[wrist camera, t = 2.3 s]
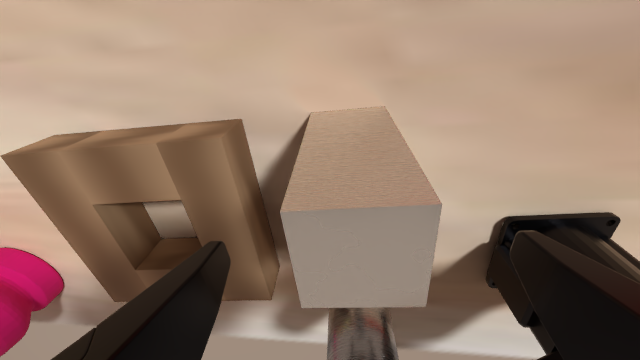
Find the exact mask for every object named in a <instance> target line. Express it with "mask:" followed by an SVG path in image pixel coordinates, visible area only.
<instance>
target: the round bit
mask: <svg viewBox="0 0 640 360" xmlns="http://www.w3.org/2000/svg"><path fill="white" fill-rule="evenodd" d="M327 348H328V349H327V360H399V359H398V354H397V348H396V342H395V337H394V331H393V326H392V320H391V315H390V309H389V307H371V308H329V318H328V347H327Z"/></svg>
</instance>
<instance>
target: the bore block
mask: <svg viewBox="0 0 640 360" xmlns="http://www.w3.org/2000/svg"><path fill="white" fill-rule="evenodd" d="M1 157H2V159H3V160H4V161H5V163H6V164H7V165H8V166H9V168H10V169H11V170H12V171H13V173H14V174H15V175H16V177H17V178H18V179H19V180H20V182H21V183H22V184H23V185H24V187H25V188H26V189H27V191H28V192H29V193H30V194H31V196H32V197H33V198H34V199H35V201H36V202H37V203H38V205H39V206H40V207H41V208H42V210H43V211H44V212H45V213H46V215H47V216H48V217H49V219H50V220H51V221H52V222H53V224H54V225H55V226H56V227H57V229H58V230H59V231H60V233H61V234H62V235H63V236H64V238H65V239H66V240H67V241H68V243H69V244H70V245H71V247H72V248H73V249H74V250H75V252H76V253H77V254H78V256H79V257H80V258H81V259H82V261H83V262H84V263H85V264H86V266H87V267H88V268H89V270H90V271H91V272H92V273H93V275H94V276H95V277H96V278H97V280H98V281H99V282H100V284H101V285H102V286H103V287H104V289H105V290H106V291H107V292H108V294H109V295H110V296H111V298H112V299H113V300H114V301H115V302H129V301H131V300H132V299H133V298H135V297H136V296H137V295H139V294H140V293H141V292H143V291H144V290H145V289H147V288H148V287H149V286H151V285H152V284H153V283H155V282H156V281H157V280H159V279H160V278H161V277H163V276H164V275H165V274H167V273H168V272H169V271H171V270H172V269H173V268H175V267H176V266H178V265H179V264H180V263H182V262H183V261H184V260H186V259H187V258H188V257H190V256H191V255H192V254H194V253H195V252H196V251H198V250H199V249H200V248H202V247H203V246H204V245H206V244H207V243H208V242H210V241H223V242H224V243H225V246H226V248H227V251H228V253H229V256H230V260H231V265H230V269H229V273H228V277H227V281H226V285H225V289H224V293H223V297H222V300H221V301H235V300H272V295H273V291H274V287H275V283H276V279H277V275H278V271H279V267H280V265H279V262H278V258H277V254H276V250H275V246H274V242H273V238H272V235H271V231H270V227H269V223H268V219H267V215H266V211H265V208H264V204H263V200H262V196H261V192H260V188H259V184H258V181H257V177H256V173H255V169H254V165H253V161H252V157H251V154H250V150H249V146H248V142H247V138H246V134H245V130H244V127H243V123H242V119H235V120H223V121H212V122H200V123H189V124H177V125H166V126H154V127H143V128H132V129H120V130H109V131H97V132H86V133H74V134H63V135H54V136H51V137H49V138H46V139H43V140H41V141H38V142H35V143H33V144H30V145H28V146H25V147H22V148H20V149H17V150H14V151H12V152H9V153H7V154H4V155H1ZM168 200H181V201H182V203H183V205H184V207H185V210H186V212H187V214H188V216H189V219H190V221H191V223H192V225H193V228H194V230H195V232H196V234H197V236H198V238H175V239H161V237H160V235H159V234H158V232H157V230H156V228H155V226H154V224H153V222H152V221H151V219H150V217H149V215H148V213H147V211H146V210H145V208H144V206H143V204H142V202H150V201H168Z"/></svg>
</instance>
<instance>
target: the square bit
mask: <svg viewBox="0 0 640 360" xmlns="http://www.w3.org/2000/svg"><path fill="white" fill-rule="evenodd" d="M441 208H442V203H441V201H440V200H439V198H438V196H437V194H436V193H435V191H434V189H433V188H432V186H431V184H430V182H429V181H428V179H427V177H426V176H425V174H424V172H423V171H422V169H421V167H420V165H419V164H418V162H417V160H416V159H415V157H414V155H413V153H412V152H411V150H410V148H409V147H408V145H407V143H406V141H405V140H404V138H403V136H402V135H401V133H400V131H399V130H398V128H397V126H396V124H395V123H394V121H393V119H392V118H391V116H390V114H389V112H388V111H387V109H386V107H385V106H381V107H370V108H358V109H347V110H336V111H324V112H313V113H311V115H310V118H309V121H308V124H307V127H306V131H305V134H304V137H303V140H302V143H301V146H300V150H299V153H298V156H297V159H296V162H295V165H294V169H293V172H292V175H291V178H290V181H289V184H288V188H287V191H286V194H285V197H284V200H283V203H282V207H281V210H280V215H281V219H282V224H283V228H284V233H285V237H286V242H287V246H288V250H289V255H290V259H291V264H292V268H293V272H294V277H295V281H296V286H297V290H298V295H299V299H300V303H301V308H371V307H426V304H427V297H428V291H429V284H430V278H431V272H432V265H433V259H434V253H435V246H436V240H437V234H438V227H439V221H440V215H441Z"/></svg>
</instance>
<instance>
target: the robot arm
mask: <svg viewBox="0 0 640 360" xmlns="http://www.w3.org/2000/svg"><path fill="white" fill-rule="evenodd" d="M619 223H620V218H619V217H617V216H616V215H615V214H613V213H609V212H608V213H584V214H560V215H536V216H513V217H509V218H507V219H506V220H505V221H504V223H503V226H502V229H501V233H500V236H499V239H498V242H497V245H496V247H495V249H494V253H493V256H492V259H491V262H490V265H489V269H488V274H487V277H486V282H487V284H488V286H489V287H491V288H498V290H499V291H500V293H501V295H502V296H503V298H504V300H505V301H506V303H507V305H508V306H509V308H510V310H511V311H512V313H513V315H514V316H515V318H516V319H517V321H518V323H519V324H520V325H521V326H523V327H529V328H530V329H531V331H532V333H533V334H534V336H535V337H536V339H537V340H538V342H539V344H540V345H541V347H542V348H543V350H544V352H545V353H546V355H545V356H543V357H541V358H539V359H537V360H640V261H638V260H637V259H636V258H634V257H633V256H632V255H631V254H629V253H628V252H627V251H625V250H624V249H623V248H622V247H620V246H619V245H618V244H616V243H615V242H614V241H613V240H611V239H610V238H611V237H612V235H613V233H614V232H615V230H616V228H617V226H618V225H619ZM513 224H514V225H513ZM230 265H231V260H230V256H229V253H228V251H227V248H226V246H225V243H224V242H223V241H210V242H208V243H207V244H206V245H204V246H203V247H202V248H200V249H199V250H198V251H196V252H195V253H194V254H192V255H191V256H190V257H188V258H187V259H186V260H184V261H183V262H182V263H180V264H179V265H178V266H176V267H175V268H173V269H172V270H171V271H169V272H168V273H167V274H165V275H164V276H163V277H161V278H160V279H159V280H157V281H156V282H155V283H153V284H152V285H151V286H149V287H148V288H147V289H145V290H144V291H143V292H141V293H140V294H139V295H137V296H136V297H135V298H133V299H132V300H131V301H129V302H128V303H127V304H125V305H124V306H123V307H121V308H120V309H119V310H117V311H116V312H115V313H113V314H112V315H111V316H109V317H108V318H107V319H105V320H104V321H103V322H101V323H100V324H99V325H97V327H96V328H93V329H92V330H91V331H89V332H88V333H86V334H85V335H84V336H82V337H81V338H80V339H79V340H77V341H76V342H74V343H73V344H72V345H70V346H69V347H67V348H66V349H65V350H63V351H62V352H61V353H60V354H58V355H57V356H55V357H54V358H52V359H51V360H201V358H202V355H203V353H204V350H205V347H206V344H207V341H208V339H209V336H210V333H211V331H212V328H213V325H214V323H215V320H216V317H217V314H218V311H219V308H220V304H221V300H222V297H223V293H224V289H225V285H226V281H227V277H228V273H229V269H230Z"/></svg>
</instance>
